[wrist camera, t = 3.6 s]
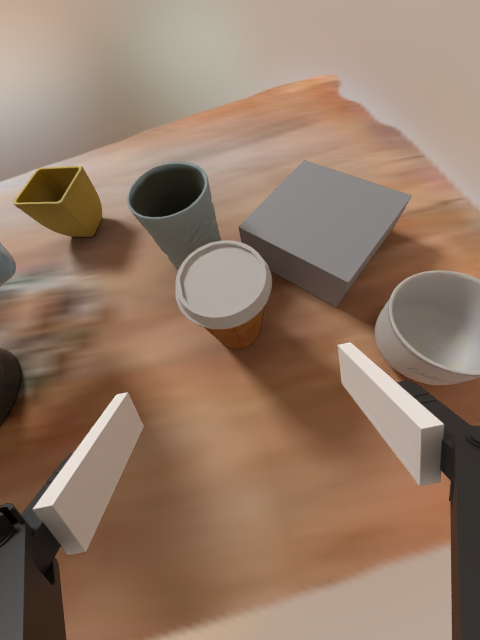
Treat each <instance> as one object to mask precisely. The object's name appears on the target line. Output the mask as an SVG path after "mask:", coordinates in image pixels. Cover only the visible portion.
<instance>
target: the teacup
mask: <svg viewBox="0 0 480 640" xmlns="http://www.w3.org/2000/svg"><path fill="white" fill-rule="evenodd" d="M375 341H376V344H377V347H378V350H379V352H380V353H381V355H382V357H383V358H384V359H385V361H386V362H387V363H388V364H389V365H390V366H391V367H392V368H393V369H395V370H396V371H397V372H399V373H400V374H402V375H404V376H406V377H407V378H410V379H412V380H414V381H417V382H421V383H424V384H430V385H453V384H458V383H463V382H467V381H470V380H474V379H477V378H480V279H478V278H475V277H473V276H470V275H467V274H463V273H458V272H452V271H427V272H422V273H418V274H415V275H412V276H410V277H408V278H406V279H405V280H403V281H402V282H401V283H400V284H399V285H397V287H396V288H395V289H394V290H393V292H392V294H391V296H390V299H389V300H388V302H387V303H386V305H385V306H384V308H383V309H382V311H381V313H380V315H379V317H378V319H377V322H376V326H375Z"/></svg>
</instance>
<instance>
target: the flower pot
mask: <svg viewBox="0 0 480 640" xmlns="http://www.w3.org/2000/svg"><path fill="white" fill-rule="evenodd" d="M13 204H14V205H15V206H17V207H18V208H19V209H21V210H22V211H24V212H25V213H26V214H28V215H29V216H30V217H32V218H33V219H35V220H36V221H37V222H39V223H40V224H42V225H43V226H45V227H47V228H48V229H50V230H53V231H55V232H57V233H60V234H63V235H67V236H71V237H92V236H94V234H95V232H96V230H97V228H98V226H99V224H100V222H101V220H102V207H101V202H100V199H99V196H98V194H97V192H96V190H95V188H94V187H93V185H92V183H91V181H90V179H89V178H88V176H87V174H86V172H85V171H84V169H83V167H82V166H66V167H49V168H39V169H37V170H36V171H35V173H34V174H33V175H32V177H31V178H30V180H29V181H28V183H27V184H26V185H25V187H24V188H23V190H22V191H21V192H20V193H19V195H18V196H17V198H16V199H15V201H14V203H13Z"/></svg>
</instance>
